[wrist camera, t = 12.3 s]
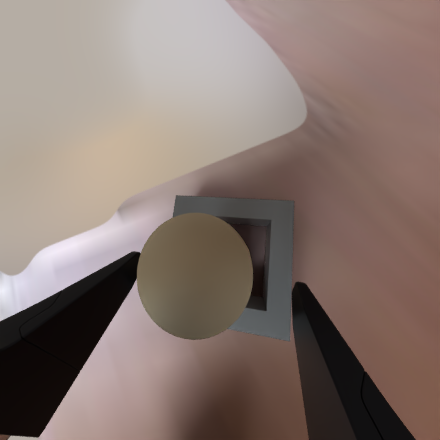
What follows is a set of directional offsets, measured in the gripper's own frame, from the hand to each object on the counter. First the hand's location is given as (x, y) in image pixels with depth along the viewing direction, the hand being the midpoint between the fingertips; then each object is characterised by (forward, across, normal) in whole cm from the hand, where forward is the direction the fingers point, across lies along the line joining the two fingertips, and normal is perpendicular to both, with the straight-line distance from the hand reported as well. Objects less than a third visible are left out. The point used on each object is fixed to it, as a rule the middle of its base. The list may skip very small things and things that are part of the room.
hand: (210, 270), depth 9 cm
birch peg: (+7, 0, +6) cm, 9 cm away
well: (+7, 0, +6) cm, 9 cm away
